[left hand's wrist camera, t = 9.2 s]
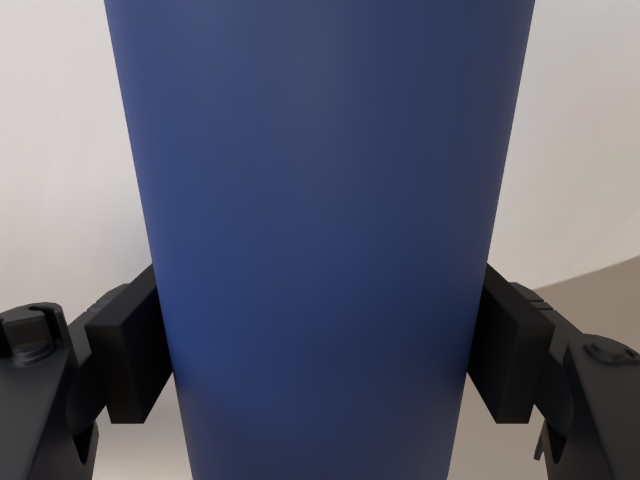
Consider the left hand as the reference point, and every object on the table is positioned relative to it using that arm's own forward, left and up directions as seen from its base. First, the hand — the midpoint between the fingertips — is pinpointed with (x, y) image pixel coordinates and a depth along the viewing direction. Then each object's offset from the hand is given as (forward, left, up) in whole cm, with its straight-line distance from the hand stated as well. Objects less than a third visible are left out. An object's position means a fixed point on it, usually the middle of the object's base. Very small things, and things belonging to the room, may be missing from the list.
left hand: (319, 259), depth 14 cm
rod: (+6, +6, 0) cm, 8 cm away
